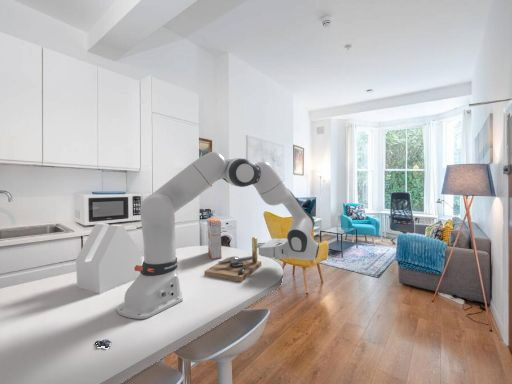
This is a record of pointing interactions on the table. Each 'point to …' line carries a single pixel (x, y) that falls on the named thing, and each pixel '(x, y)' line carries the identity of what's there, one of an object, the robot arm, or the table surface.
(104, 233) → the milk carton
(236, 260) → the capstan
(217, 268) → the stand
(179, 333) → the table surface
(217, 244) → the cracker box
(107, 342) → the blueberries
